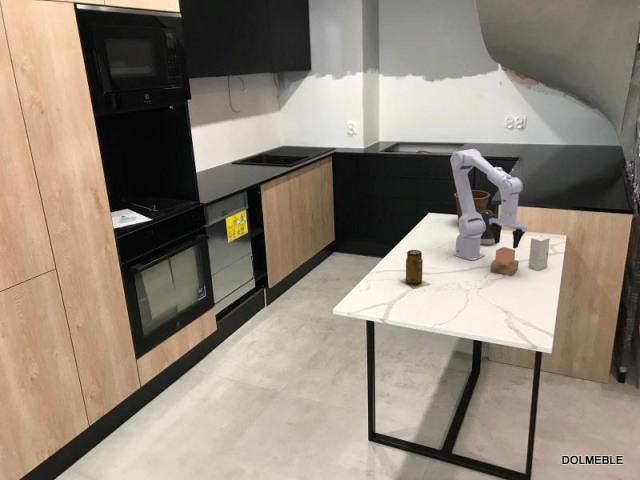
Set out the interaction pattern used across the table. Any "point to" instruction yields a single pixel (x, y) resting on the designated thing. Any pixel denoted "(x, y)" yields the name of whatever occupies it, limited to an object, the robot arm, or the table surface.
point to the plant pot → (479, 202)
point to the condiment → (414, 269)
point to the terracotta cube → (505, 256)
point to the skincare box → (539, 252)
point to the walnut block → (504, 268)
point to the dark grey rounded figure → (487, 228)
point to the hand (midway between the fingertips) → (506, 245)
